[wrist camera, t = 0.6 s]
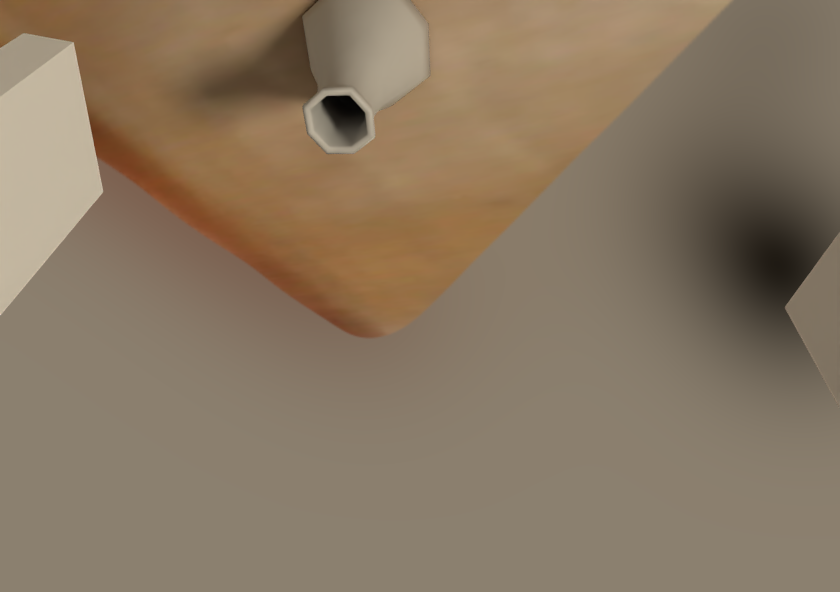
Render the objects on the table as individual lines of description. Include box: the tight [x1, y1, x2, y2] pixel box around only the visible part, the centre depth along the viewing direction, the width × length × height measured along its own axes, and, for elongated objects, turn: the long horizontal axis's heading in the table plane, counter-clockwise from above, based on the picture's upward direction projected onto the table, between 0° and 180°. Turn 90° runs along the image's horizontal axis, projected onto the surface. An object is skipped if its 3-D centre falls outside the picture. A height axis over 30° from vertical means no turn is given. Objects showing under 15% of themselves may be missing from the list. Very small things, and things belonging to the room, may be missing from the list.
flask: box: [302, 0, 430, 154], centre depth 32 cm, size 7×7×10 cm
